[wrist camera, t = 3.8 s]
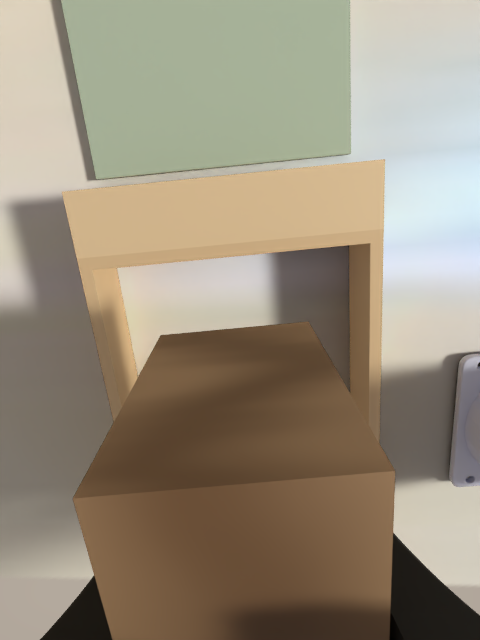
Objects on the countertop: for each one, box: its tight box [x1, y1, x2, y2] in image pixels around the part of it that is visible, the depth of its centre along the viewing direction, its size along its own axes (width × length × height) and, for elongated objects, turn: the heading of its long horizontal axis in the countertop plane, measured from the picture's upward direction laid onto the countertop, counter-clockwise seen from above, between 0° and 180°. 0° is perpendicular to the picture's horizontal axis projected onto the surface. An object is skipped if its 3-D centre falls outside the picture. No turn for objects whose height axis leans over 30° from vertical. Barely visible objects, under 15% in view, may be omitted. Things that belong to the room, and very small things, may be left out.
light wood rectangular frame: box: [62, 159, 385, 442], centre depth 19 cm, size 12×19×3 cm, turn 5°
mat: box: [61, 0, 351, 180], centre depth 15 cm, size 11×11×1 cm
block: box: [73, 322, 395, 640], centre depth 10 cm, size 4×10×6 cm, turn 5°
